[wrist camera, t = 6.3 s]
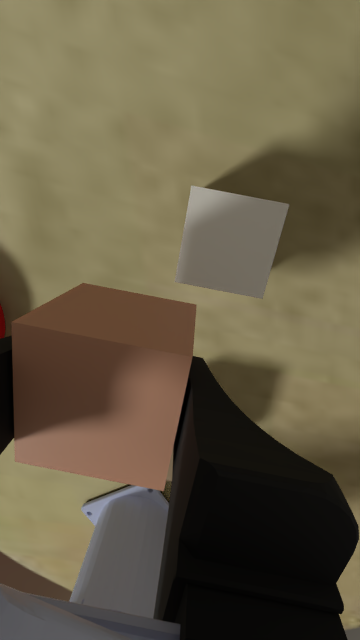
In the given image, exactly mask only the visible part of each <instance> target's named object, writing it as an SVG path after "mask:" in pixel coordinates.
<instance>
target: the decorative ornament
mask: <svg viewBox="0 0 360 640" xmlns="http://www.w3.org/2000/svg"><path fill="white" fill-rule="evenodd" d="M4 335H5V319H4V314H3V310H2V307H1V304H0V339H1V338H4Z"/></svg>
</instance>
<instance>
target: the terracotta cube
mask: <svg viewBox="0 0 360 640" xmlns="http://www.w3.org/2000/svg"><path fill="white" fill-rule="evenodd" d="M195 317H196V305H195V304H190V303H185V302H180V301H174V300H169V299H164V298H159V297H154V296H148V295H143V294H138V293H133V292H127V291H122V290H117V289H112V288H107V287H101V286H96V285H91V284H86V283H82V284H80V285H79V286H77V287H75V288H73V289H71V290H69V291H68V292H66V293H64V294H62V295H60V296H58V297H56V298H55V299H53V300H51V301H49V302H47V303H45V304H44V305H42V306H40V307H38V308H36V309H34V310H32V311H31V312H29V313H27V314H25V315H23V316H21V317H19V318H18V319H16V320H14V321H12V322H11V325H12V364H13V402H14V441H15V462H19V463H24V464H29V465H34V466H39V467H44V468H50V469H55V470H60V471H65V472H70V473H75V474H80V475H85V476H90V477H95V478H100V479H105V480H110V481H115V482H120V483H125V484H130V485H135V486H140V487H145V488H150V489H155V490H160V491H164V488H165V483H166V478H167V474H168V469H169V464H170V460H171V455H172V450H173V446H174V441H175V436H176V432H177V427H178V422H179V418H180V413H181V408H182V404H183V399H184V394H185V390H186V385H187V380H188V376H189V371H190V366H191V362H192V357H193V344H194V330H195Z"/></svg>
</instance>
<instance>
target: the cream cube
mask: <svg viewBox="0 0 360 640" xmlns="http://www.w3.org/2000/svg"><path fill="white" fill-rule="evenodd" d="M288 208H289V204H287V203H281V202H276V201H271V200H265V199H260V198H255V197H249V196H244V195H239V194H234V193H228V192H223V191H218V190H212V189H207V188H202V187H196V186H191V192H190V197H189V203H188V209H187V214H186V220H185V226H184V232H183V237H182V243H181V249H180V255H179V260H178V266H177V272H176V277H175V282H178V283H183V284H188V285H194V286H199V287H204V288H209V289H214V290H220V291H225V292H230V293H235V294H240V295H246V296H251V297H256V298H261V299H262V298H263V295H264V291H265V288H266V284H267V281H268V277H269V274H270V270H271V267H272V263H273V260H274V256H275V253H276V249H277V246H278V242H279V239H280V236H281V232H282V229H283V225H284V222H285V218H286V215H287V211H288Z"/></svg>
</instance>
